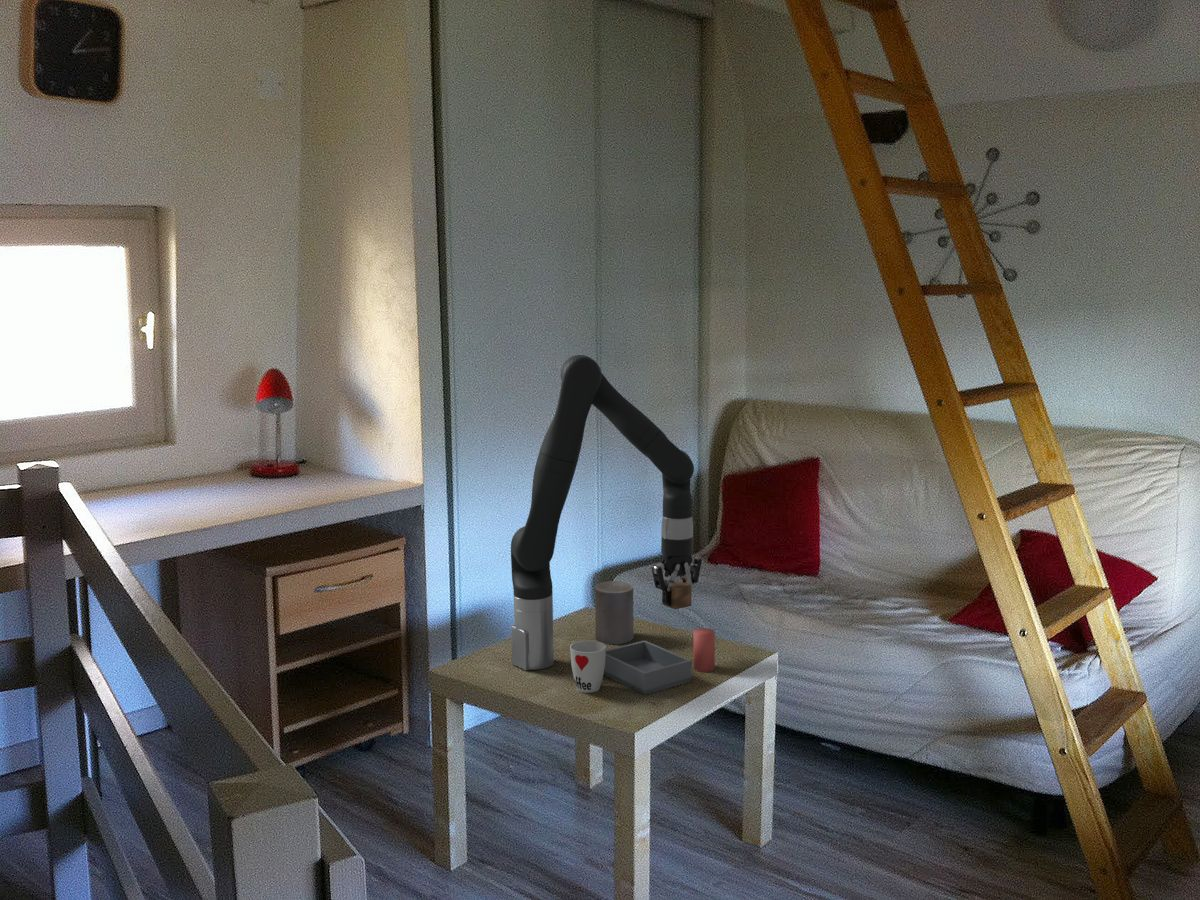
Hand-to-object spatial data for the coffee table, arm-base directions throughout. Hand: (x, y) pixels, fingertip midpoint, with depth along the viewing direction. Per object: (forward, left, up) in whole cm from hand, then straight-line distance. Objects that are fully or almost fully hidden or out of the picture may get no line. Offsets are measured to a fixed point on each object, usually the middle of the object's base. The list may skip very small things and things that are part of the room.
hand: (676, 602), depth 296 cm
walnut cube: (0, 0, 0) cm, 0 cm away
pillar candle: (-4, +20, -14) cm, 25 cm away
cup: (-29, -4, -14) cm, 32 cm away
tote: (-14, -6, -14) cm, 21 cm away
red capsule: (0, -10, -14) cm, 17 cm away
